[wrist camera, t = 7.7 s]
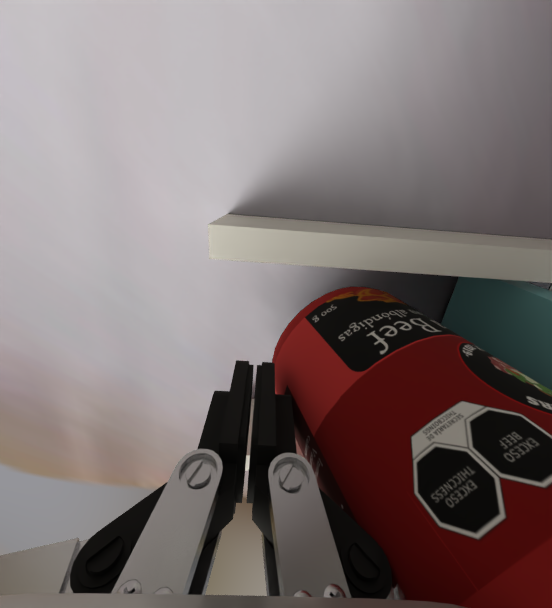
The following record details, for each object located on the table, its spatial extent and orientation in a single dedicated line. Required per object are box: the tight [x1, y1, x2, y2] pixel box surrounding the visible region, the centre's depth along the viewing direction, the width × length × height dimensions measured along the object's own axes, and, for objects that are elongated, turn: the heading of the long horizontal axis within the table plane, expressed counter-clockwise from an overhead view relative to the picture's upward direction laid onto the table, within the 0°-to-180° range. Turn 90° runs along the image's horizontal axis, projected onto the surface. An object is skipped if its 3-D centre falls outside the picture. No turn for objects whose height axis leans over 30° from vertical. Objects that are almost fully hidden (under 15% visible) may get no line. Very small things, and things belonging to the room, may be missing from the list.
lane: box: [208, 214, 552, 470], centre depth 13 cm, size 13×19×6 cm
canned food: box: [272, 287, 552, 608], centre depth 10 cm, size 8×8×11 cm
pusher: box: [441, 276, 552, 391], centre depth 12 cm, size 10×1×7 cm, turn 176°
